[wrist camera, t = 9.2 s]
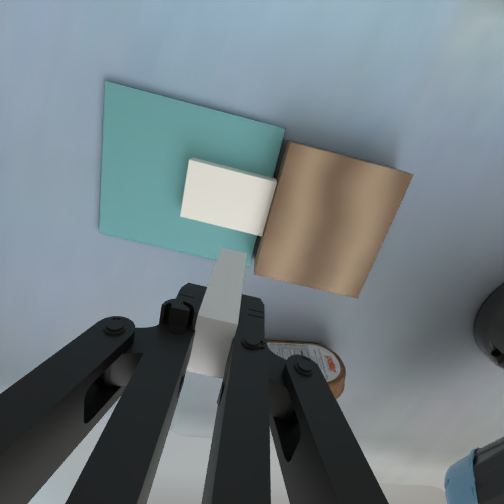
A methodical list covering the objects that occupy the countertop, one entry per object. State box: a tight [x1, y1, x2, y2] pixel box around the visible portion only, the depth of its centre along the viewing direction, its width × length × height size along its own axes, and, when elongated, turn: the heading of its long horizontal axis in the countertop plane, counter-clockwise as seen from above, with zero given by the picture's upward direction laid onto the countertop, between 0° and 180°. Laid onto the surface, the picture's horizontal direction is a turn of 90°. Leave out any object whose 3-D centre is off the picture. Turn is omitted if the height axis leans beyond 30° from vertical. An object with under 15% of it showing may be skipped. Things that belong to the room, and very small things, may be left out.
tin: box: [265, 340, 346, 399], centre depth 38 cm, size 15×3×8 cm, turn 88°
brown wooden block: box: [254, 140, 413, 298], centre depth 32 cm, size 12×14×4 cm
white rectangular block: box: [180, 157, 277, 236], centre depth 32 cm, size 9×6×2 cm, turn 76°
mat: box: [99, 81, 285, 268], centre depth 33 cm, size 18×16×1 cm
